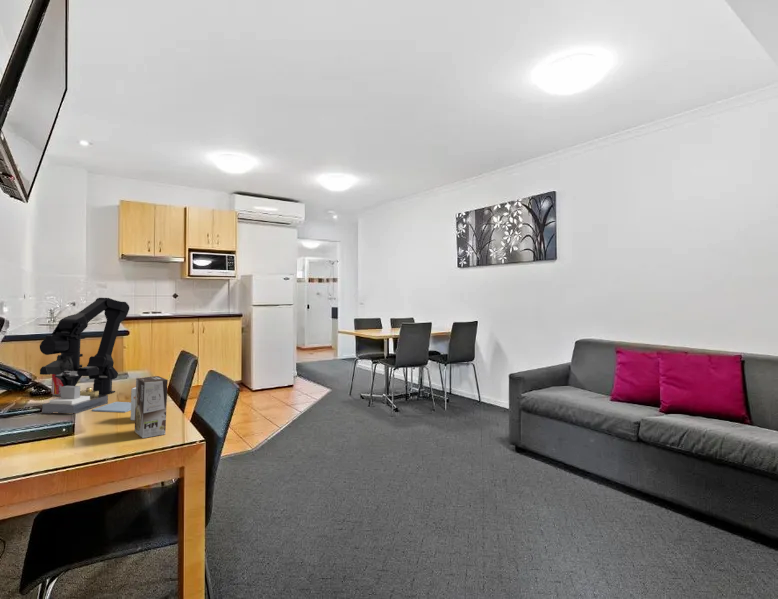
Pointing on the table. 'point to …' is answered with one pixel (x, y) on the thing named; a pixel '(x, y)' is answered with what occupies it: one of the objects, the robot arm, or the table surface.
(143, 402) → the coffee box
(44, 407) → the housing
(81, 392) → the pegged block
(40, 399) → the table surface
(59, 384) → the soda can
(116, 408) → the pad
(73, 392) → the lid
